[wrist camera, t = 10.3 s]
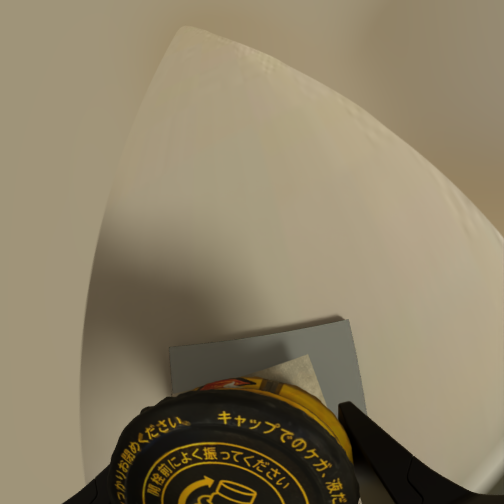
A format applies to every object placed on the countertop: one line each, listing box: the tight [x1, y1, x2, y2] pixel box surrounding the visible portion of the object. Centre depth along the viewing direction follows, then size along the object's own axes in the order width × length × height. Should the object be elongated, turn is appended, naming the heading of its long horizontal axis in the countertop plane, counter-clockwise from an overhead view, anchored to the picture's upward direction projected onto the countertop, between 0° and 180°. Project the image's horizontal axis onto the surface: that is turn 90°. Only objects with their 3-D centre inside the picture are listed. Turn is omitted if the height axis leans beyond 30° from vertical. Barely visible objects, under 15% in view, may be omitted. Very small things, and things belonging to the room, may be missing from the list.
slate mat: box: [169, 319, 367, 419], centre depth 16 cm, size 12×12×1 cm
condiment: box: [107, 354, 360, 504], centre depth 9 cm, size 7×8×12 cm
